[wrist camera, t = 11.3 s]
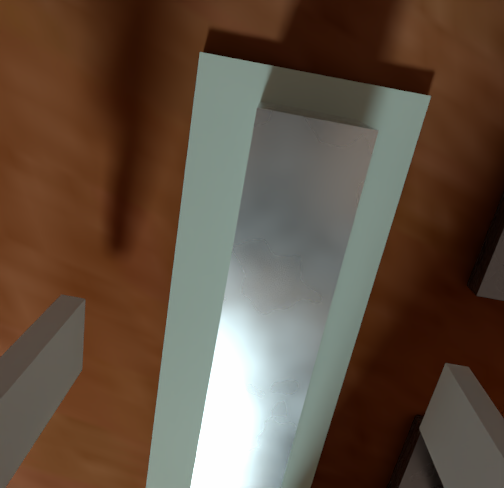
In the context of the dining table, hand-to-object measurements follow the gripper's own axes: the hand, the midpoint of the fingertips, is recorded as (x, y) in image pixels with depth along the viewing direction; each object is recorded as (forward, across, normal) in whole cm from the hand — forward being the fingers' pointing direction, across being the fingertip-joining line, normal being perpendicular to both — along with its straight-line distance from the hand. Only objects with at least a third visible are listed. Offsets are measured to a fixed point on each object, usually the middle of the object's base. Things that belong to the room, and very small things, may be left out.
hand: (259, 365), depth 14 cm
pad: (+3, 0, 0) cm, 3 cm away
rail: (+2, 0, 0) cm, 2 cm away
